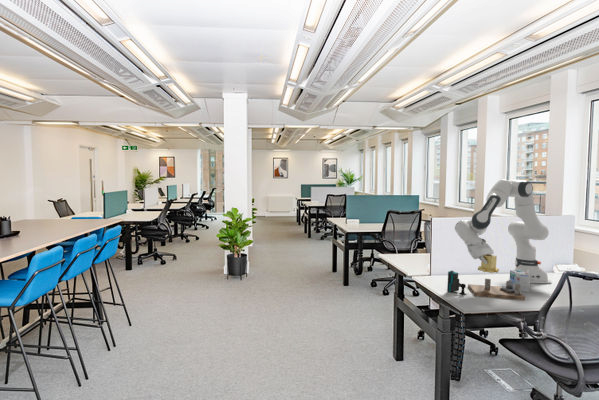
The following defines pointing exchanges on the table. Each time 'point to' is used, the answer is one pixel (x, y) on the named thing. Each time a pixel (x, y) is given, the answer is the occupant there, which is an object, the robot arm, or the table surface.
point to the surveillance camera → (454, 283)
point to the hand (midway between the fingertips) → (489, 262)
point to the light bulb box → (520, 279)
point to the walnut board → (495, 291)
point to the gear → (508, 287)
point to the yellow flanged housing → (489, 264)
